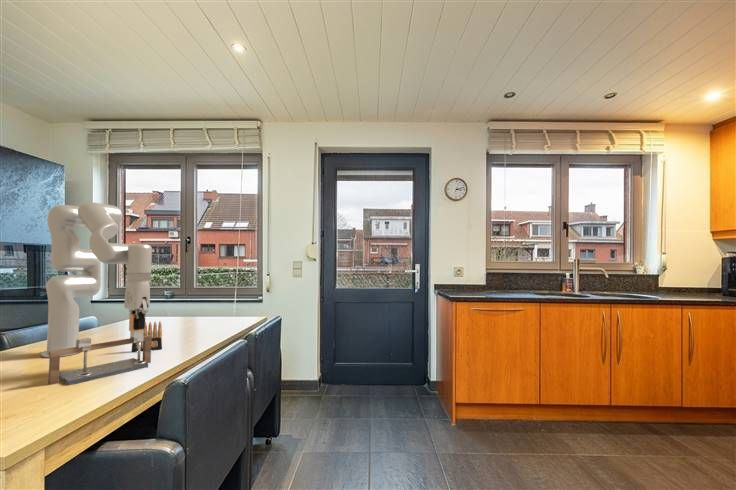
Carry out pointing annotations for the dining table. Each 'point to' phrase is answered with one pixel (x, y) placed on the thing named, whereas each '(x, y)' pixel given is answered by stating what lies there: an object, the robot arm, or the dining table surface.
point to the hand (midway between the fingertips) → (137, 328)
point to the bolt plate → (101, 371)
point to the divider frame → (85, 346)
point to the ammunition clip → (156, 338)
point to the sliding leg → (135, 333)
